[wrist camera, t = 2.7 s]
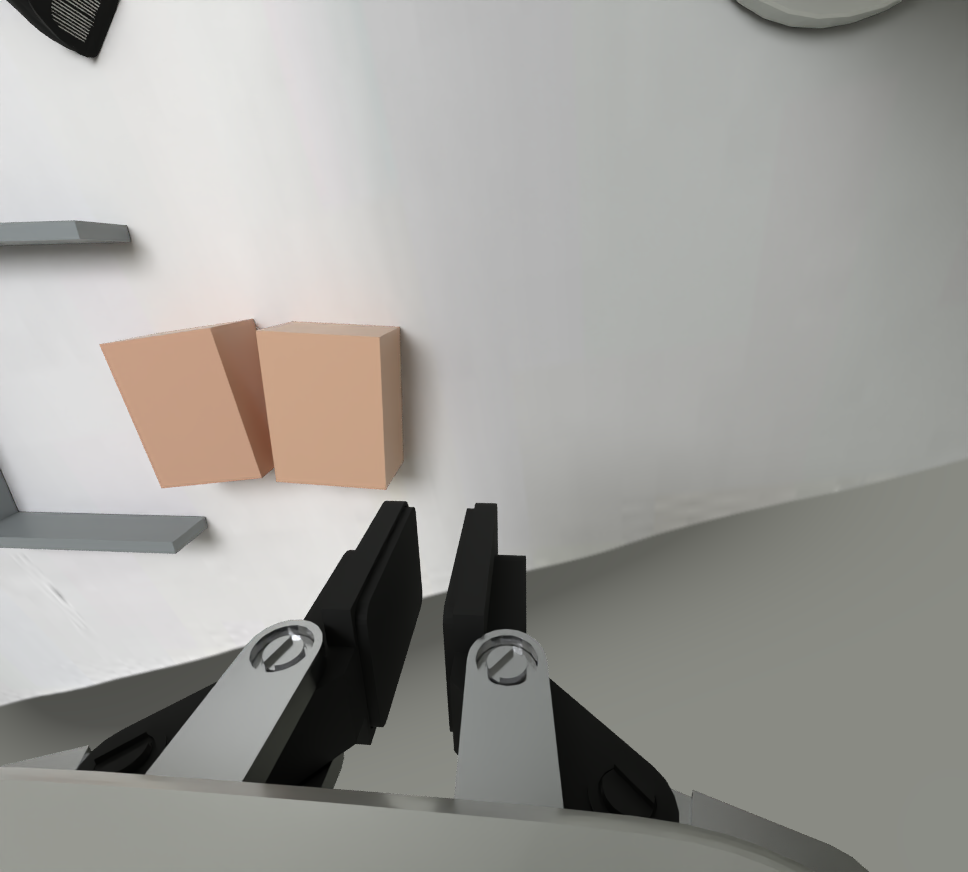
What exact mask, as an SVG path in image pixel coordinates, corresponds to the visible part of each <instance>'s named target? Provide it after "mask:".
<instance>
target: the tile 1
mask: <svg viewBox="0 0 968 872" xmlns="http://www.w3.org/2000/svg"><path fill="white" fill-rule="evenodd" d="M256 330H257V329H256V326H255V323H254V319H248V320H242V321H235V322H228V323H222V324H215V325H209V326H202V327H195V328H189V329H182V330H175V331H169V332H162V333H156V334H151V335H146V336H140V337H135V338H130V339H125V340H120V341H115V342H110V343H105V344H99V345H100V347H101V349H102V351H103V354H104V356H105V358H106V361H107V363H108V365H109V368H110V370H111V372H112V375H113V377H114V379H115V382H116V384H117V386H118V388H119V391H120V393H121V395H122V398H123V400H124V402H125V405H126V407H127V409H128V412H129V414H130V416H131V418H132V421H133V423H134V425H135V428H136V430H137V432H138V435H139V437H140V439H141V442H142V444H143V446H144V448H145V451H146V453H147V455H148V458H149V460H150V462H151V465H152V467H153V469H154V472H155V474H156V476H157V478H158V481H159V483H160V485H161V488H169V487H179V486H189V485H198V484H208V483H218V482H227V481H237V480H247V479H256V478H262V477H264V476H265V475H266V474H267V473H268V472H270V471H271V470H272V469H273V468H274V461H273V454H272V446H271V439H270V432H269V424H268V417H267V410H266V403H265V395H264V388H263V381H262V373H261V366H260V359H259V352H258V344H257V337H256Z"/></svg>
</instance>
